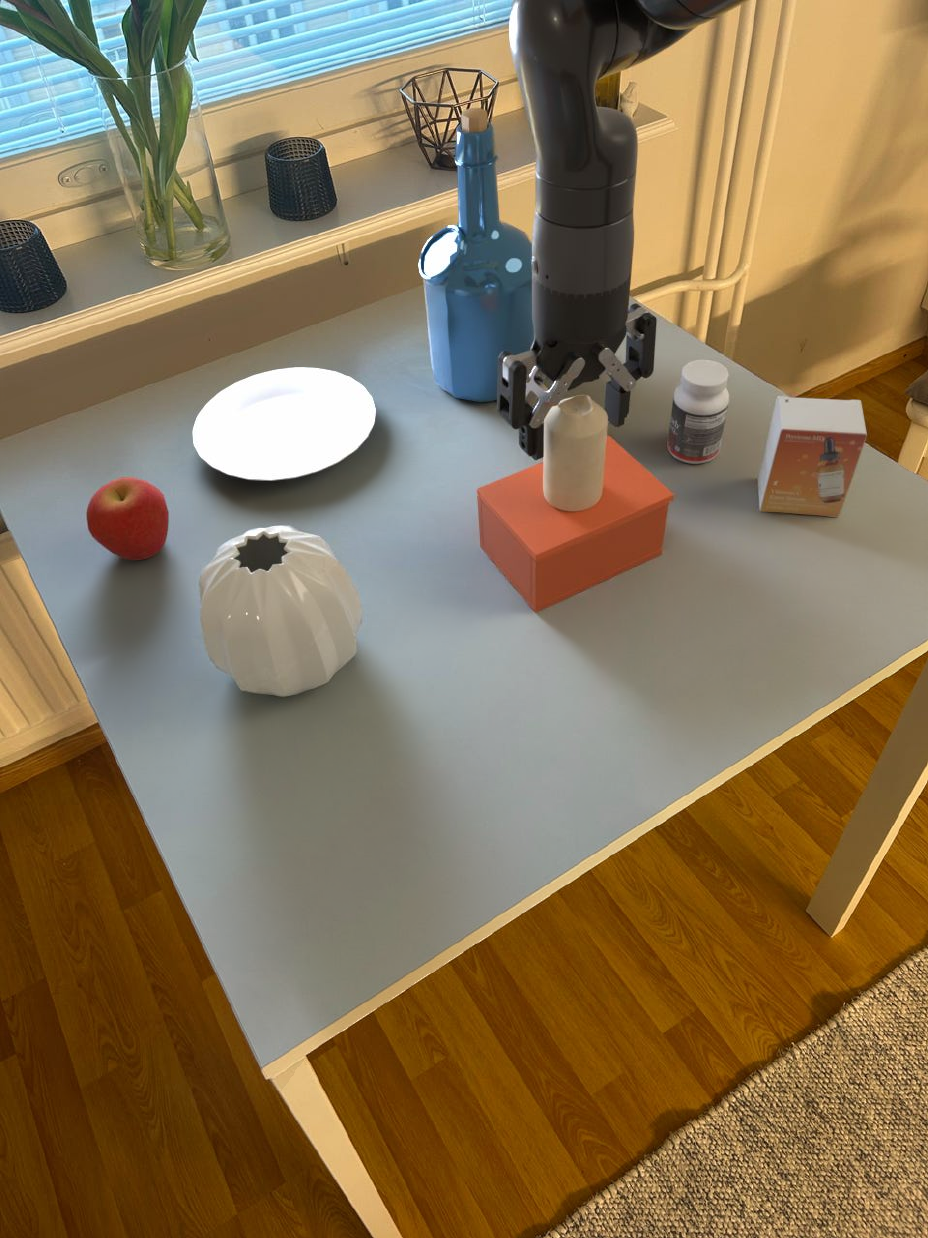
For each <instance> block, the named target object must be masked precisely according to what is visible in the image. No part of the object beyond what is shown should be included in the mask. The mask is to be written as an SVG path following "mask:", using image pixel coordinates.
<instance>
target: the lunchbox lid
mask: <svg viewBox="0 0 928 1238" xmlns="http://www.w3.org/2000/svg"><path fill="white" fill-rule="evenodd" d="M476 495H477V496H479V497H480V498H481V500H482V501H483V502H484V503H485V504H486V505H487V506H488V508H489V509H490V510H491V511H492V512H493V513H494V514H495V515H496V517H497V518H498V519H499V520H500V521H501V522H502V523H503V525H504V526H505V527H506V528H507V529H508V530H509V531H510V532H511V534H512V535H513V536H514V537H515V538H516V539H517V540H518V542H519V543H520V544H521V545H522V546H523V547H524V548H525V549H526V551H527V552H528V553H529V554H530V555H531V556H532V557H533V559H534V560H535V561H538V560H540V559H542V558H545V557H547V556H549V555H551V554H554V553H556V552H558V551H560V550H563V549H565V548H567V547H569V546H572V545H574V544H576V543H578V542H581V541H583V540H585V539H588V538H590V537H592V536H594V535H597V534H599V533H601V532H603V531H606V530H608V529H610V528H612V527H615V526H617V525H619V524H621V523H624V522H626V521H628V520H630V519H633V518H635V517H637V516H640V515H642V514H644V513H646V512H649V511H651V510H653V509H655V508H658V507H660V506H662V505H664V504H667V503H669V504H670V503H671V502H673V501H674V499H675V494H674V493H673V492H672V491H671V490H670V489H669V488H668V487H667V486H665V484H663V482H661V481H660V480H659V479H658V478H656V476H654V475H653V474H652V473H651V472H650V471H649V470H648V469H647V468H646V467H645V466H643V465H642V463H640V462H639V461H638V460H637V459H635V458H634V457H633V456H632V455H631V454H630V453H629V452H628V451H627V450H626V449H625V448H623V446H621V445H620V444H619V443H618V442H617V441H616V440H615V439H614V438H613V437H611V436H610V435H608V434H607V439H606V452H605V465H604V478H603V489H602V495H601V498H600V500H599V501H598V502H597V503H596V504H595V505H594V506H592V507H591V508H589V509H586V510H582V511H564V510H560V509H558V508H555V507H553V506H552V505H551V504H549V503H548V502H547V500H546V499H545V496H544V492H543V461H541V462H539V463H536V464H534V465H531V466H529V467H527V468H524V469H521V470H519V471H516V472H514V473H512V474H509V475H507V476H505V477H501V478H499V479H497V480H494V481H493V482H490V483H488V484H485V485H483V486H480V487H478V488H476Z"/></svg>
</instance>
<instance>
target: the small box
mask: <svg viewBox="0 0 928 1238" xmlns="http://www.w3.org/2000/svg"><path fill="white" fill-rule="evenodd" d="M865 421H866V420H865V416H864V409H863V404H862V400H860V399H834V398H832V399H831V398H813V397H797V396H796V397H795V396H786V395H777V396H776V400H775V403H774V407H773V411H772V416H771V419H770V424H769V429H768V433H767V437H766V441H765V445H764V448H763V453H762V456H761V460H760V464H759V469H758V472H757V490H758V491H757V492H758V506H759V507H758V509H759V511H760V512H762V513H763V512H766V513H783V514H784V513H785V514H799V515H807V516H808V515H810V516H823V517H828V518H838V517H840V515H841V514H842V513H841V512H842V510H843V507H844V505H845V502H846V499H847V495H848V492H849V489H850V488H851V484H852V480H853V478H854V475H855V473H856V469H857V466H858V463H859V461H860V457H861V454H862V451H863V449H864V446H865V442H866V440H867V437H868V432H867V427H866V422H865Z"/></svg>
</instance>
